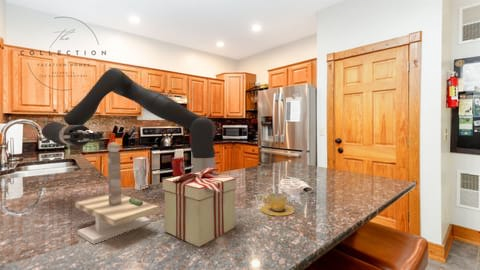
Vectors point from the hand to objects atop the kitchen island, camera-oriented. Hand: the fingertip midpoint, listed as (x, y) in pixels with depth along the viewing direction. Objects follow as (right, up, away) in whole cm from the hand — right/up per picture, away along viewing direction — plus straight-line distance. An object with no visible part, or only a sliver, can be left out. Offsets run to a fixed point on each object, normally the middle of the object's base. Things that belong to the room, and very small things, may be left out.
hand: (96, 136), depth 75 cm
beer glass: (-2, -26, +38) cm, 46 cm away
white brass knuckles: (+71, -26, +34) cm, 83 cm away
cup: (+59, -26, +7) cm, 65 cm away
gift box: (+36, -27, -9) cm, 46 cm away
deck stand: (+10, -27, -7) cm, 29 cm away
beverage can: (+16, -26, +39) cm, 49 cm away
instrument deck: (+10, -21, -7) cm, 25 cm away
